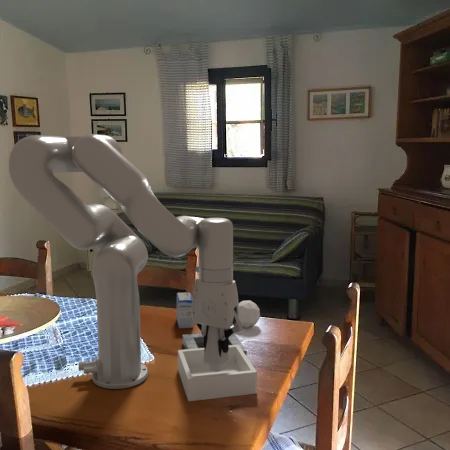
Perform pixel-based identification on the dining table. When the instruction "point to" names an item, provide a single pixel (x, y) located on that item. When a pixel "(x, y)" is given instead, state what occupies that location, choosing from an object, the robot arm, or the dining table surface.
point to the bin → (216, 375)
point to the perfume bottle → (248, 313)
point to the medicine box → (184, 310)
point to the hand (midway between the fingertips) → (216, 352)
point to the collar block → (198, 340)
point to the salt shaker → (214, 351)
